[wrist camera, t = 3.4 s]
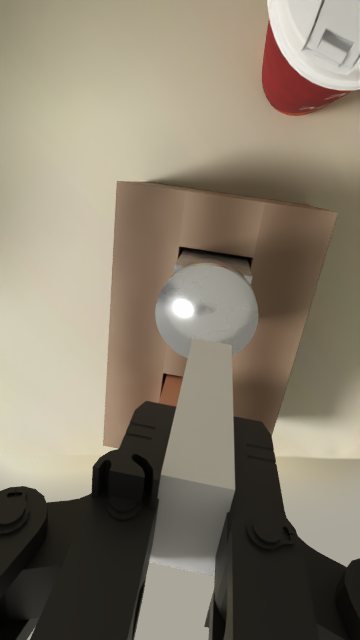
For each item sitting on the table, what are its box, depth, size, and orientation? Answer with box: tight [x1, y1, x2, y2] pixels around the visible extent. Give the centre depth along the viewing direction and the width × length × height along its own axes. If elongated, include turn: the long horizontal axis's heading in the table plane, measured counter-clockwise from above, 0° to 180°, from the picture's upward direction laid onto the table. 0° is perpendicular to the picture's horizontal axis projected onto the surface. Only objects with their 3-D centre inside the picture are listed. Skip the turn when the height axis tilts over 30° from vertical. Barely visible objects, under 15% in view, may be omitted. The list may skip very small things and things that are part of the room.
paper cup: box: [262, 0, 360, 116], centre depth 18 cm, size 8×8×14 cm
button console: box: [103, 181, 338, 448], centre depth 29 cm, size 14×22×8 cm, turn 173°
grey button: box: [155, 247, 258, 358], centre depth 22 cm, size 6×6×8 cm
